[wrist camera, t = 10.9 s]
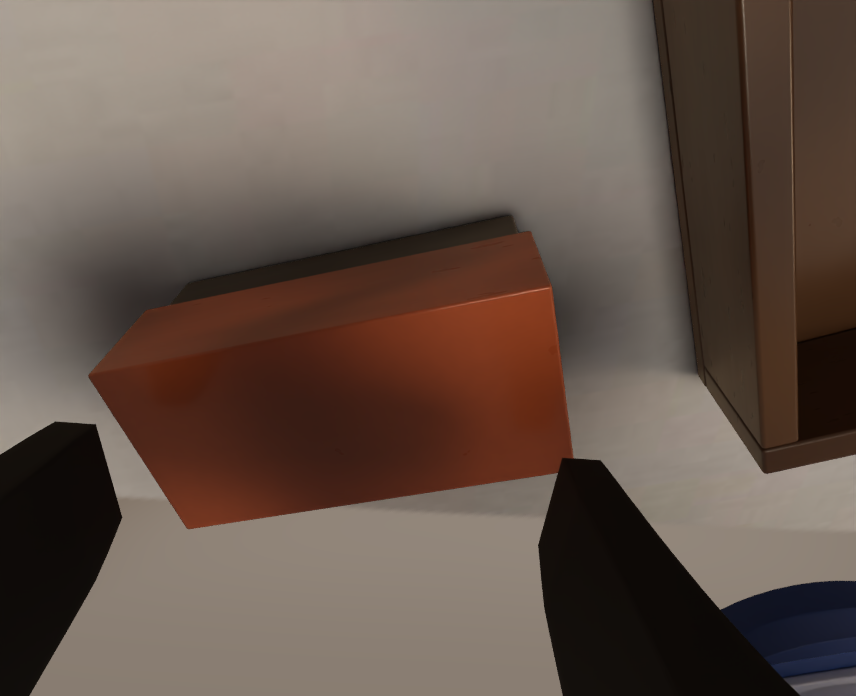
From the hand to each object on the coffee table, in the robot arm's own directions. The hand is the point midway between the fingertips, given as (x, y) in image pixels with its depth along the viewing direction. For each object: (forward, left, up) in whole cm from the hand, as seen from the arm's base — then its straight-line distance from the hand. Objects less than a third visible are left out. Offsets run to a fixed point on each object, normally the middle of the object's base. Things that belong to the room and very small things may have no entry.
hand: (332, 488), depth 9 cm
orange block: (0, 0, -6) cm, 6 cm away
